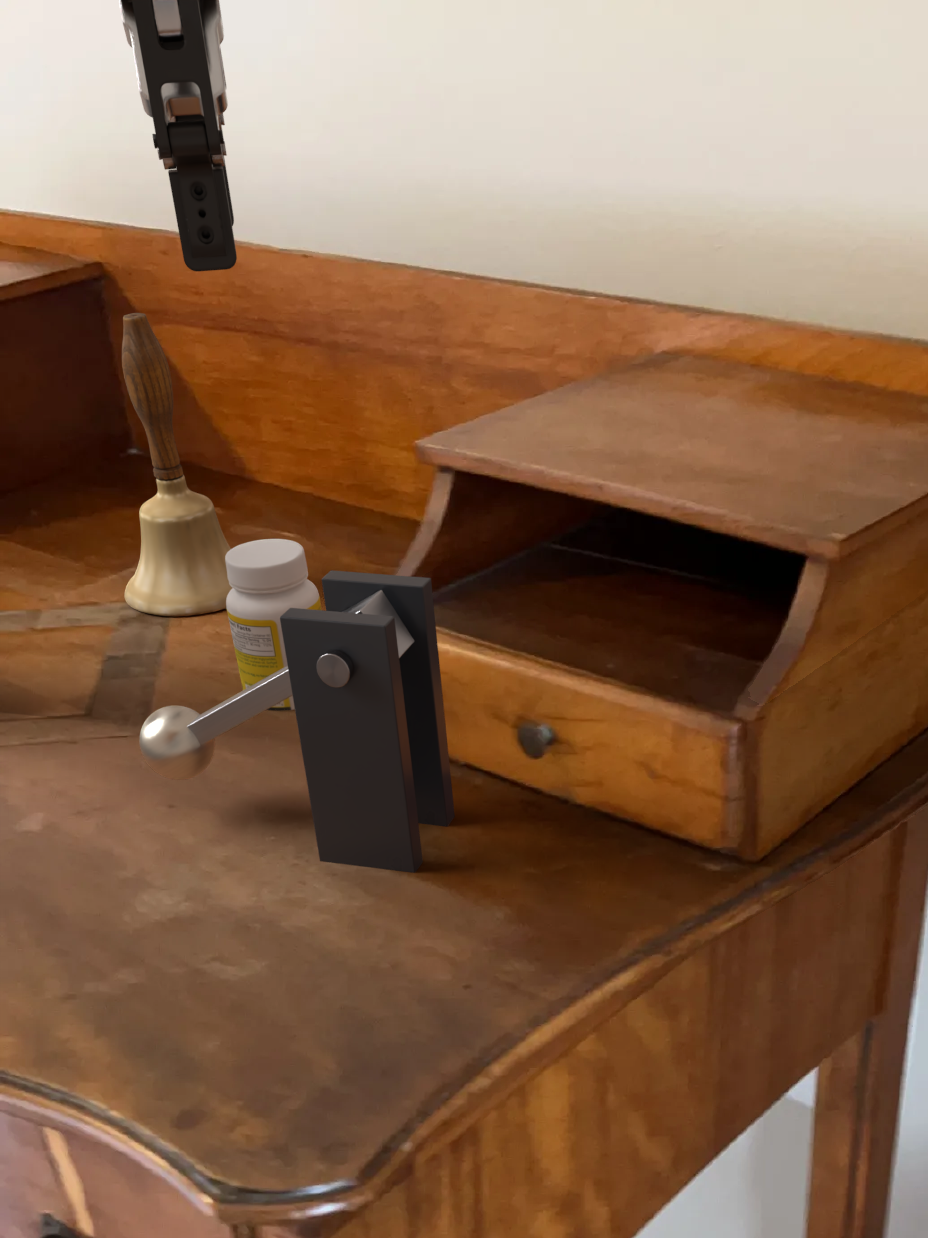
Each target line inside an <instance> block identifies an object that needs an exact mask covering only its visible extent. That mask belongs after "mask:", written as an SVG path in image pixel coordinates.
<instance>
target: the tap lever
mask: <svg viewBox="0 0 928 1238" xmlns="http://www.w3.org/2000/svg"><path fill="white" fill-rule="evenodd" d="M343 612H347V613H359V614H371V615H383V616H393V617H394V619H395V627H396V636H397V644H398V653H399V658H400V657H401V656H402V655H403V654H404V653H405V652H406V650H407V649H408V648H409V647H410V646H411V645H412V644H413V643H414V639H413V638H412V636H411V634H410V633H409V631H408V630H407V628H406V627H405V625H404V624H403V622H402V621H401V619H400V617H399V616H398V614H397V613H396V611H395V610H394V608H393V607H392V605H391V604H390V602H389V600H388V599H387V597H386V596H385V594H384V593H383V591H382V590H380V591H378V592H376V593H374V594H373V595H371V596H369V597H367V598H366V599H364V600H362V601H360V602H359V603H357V604H355V605H353V606H352V607H350V608H348V609H346V610H345V611H343ZM291 696H293V695H292V689H291V683H290V677H289V671H288V666H286V667H284V668H282V669H280V670H279V671H277V672H275V673H273V674H271V675H270V676H268V677H266V678H264V679H263V680H261V681H259V682H257V683H255V684H254V685H252V686H250V687H248V688H247V689H245V690H243V689H242V690H241V691H240V692H238V693H236V694H234V695H232V696H231V697H229V698H227V699H225V700H224V701H222V702H220V703H218V704H217V705H214V706H213V707H211V708H209V709H206V711H204V712H202V713H199V712H197V711H196V710H194V709H193V708H190V707H188V706H184V705H175V704H174V705H166V706H163V707H161V708H158V709H156V710H155V711H153V712H152V713H151V714H150V715H149V716H148V717H146V719H145V721H144V722H143V724H142V726H141V729H140V732H139V749H140V750H139V751H140V752H141V756H142V757H143V760H144V761H145V763H146V764H147V765H148V766H149V768H150V769H151V770H153V771H154V772H155V773H156V774H157V775H160V776H161V777H164V778H166V779H170V780H175V781H183V780H189V779H192V778H195V777H197V776H198V775H200V774H202V773H203V772H204V771H205V770H206V769H207V768H208V767H209V765H210V763H211V762H212V759H213V758H214V755H215V750H216V743H215V742H216V740H215V739H216V738H218V737H220V736H222V735H223V734H225V733H227V732H228V731H231V730H232V729H235V728H236V727H238V726H239V725H241V724H243V723H245V722H247V721H250V719H252V718H254V717H256V716H258V715H260V714H262V713H263V712H265V711H268V710H267V709H269V708H271V707H273V706H274V705H276V704H278V703H280V702H282V701H284V700H285V699H287V698H289V697H291Z"/></svg>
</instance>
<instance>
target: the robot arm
mask: <svg viewBox="0 0 928 1238" xmlns="http://www.w3.org/2000/svg"><path fill="white" fill-rule="evenodd" d="M118 3H119V10H120V17H121V22H122V26H123V29H124V33H125V38H126V41H127V44H128V45H129V47H130V48H131V49H132V54H133V60H134V66H135V73H136V81H137V86H138V87H137V88H138V91H139V96H140V100H141V104H142V108H143V111H144V112H145V114H146V115H147V116H149V118H152V122H153V128H154V133H152V142H153V146H154V149H155V150H157V156H158V160H159V161H162V164H163V169H164V170H165V171H166V170H168V171H167V174H168V179H169V185H170V191H171V195H172V201H173V207H174V212H175V213H174V214H175V218H176V219H175V220H176V223H177V229H178V230H177V231H178V235H179V240H180V241H179V242H180V246H181V252H182V257H183V262H184V264H185V266H186V267H187V268H188V269H189V270H190V271H192V272H210V271H211V272H212V271H223V270H230V269H232V268H233V267H234V266H235V265H236V264H237V259H238V257H237V249H236V241H235V237H234V236H235V235H234V230H233V229H234V228H233V226H234V223H235V217H234V216H235V215H234V209H233V203H232V198H231V191H230V185H229V179H228V172H227V171H228V170H227V166H226V160H225V157H227V156H228V154H227V147H226V142H225V139H224V131H223V126H225V125H226V123H225V117H224V113H225V112H226V110H227V109H228V107H229V102H228V96H227V82H226V74H225V68H224V61H223V55H222V49H221V48H222V47H221V44H222V43H223V41H224V37H225V33H224V32H225V31H224V24H223V18H222V12H221V11H222V10H221V5H220V3H221V2H220V0H118Z"/></svg>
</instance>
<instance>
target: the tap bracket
mask: <svg viewBox="0 0 928 1238" xmlns="http://www.w3.org/2000/svg"><path fill="white" fill-rule="evenodd" d="M321 585H322V593H323V599H324V606H325V610H323V609H321V610H311V609H299V608H289V609H288V610H287V611H286V612H285V613H284V614H283V615H282V616H280V622H281V629H282V635H283V641H284V647H285V653H286V659H287V665H288V671H289V677H290V683H291V689H292V695H293V701H294V707H295V709H294V712H295V718H296V725H297V730H298V736H299V737H298V738H299V743H300V750H301V755H302V761H303V767H304V773H305V779H306V785H307V790H308V799H309V803H310V810H311V815H312V822H313V827H314V833H315V840H316V847H317V851H318V857H319V861H320V862H324V863H331V864H339V865H340V864H341V865H346V866H347V865H348V866H355V867H363V868H364V867H365V868H373V869H381V870H387V871H388V870H389V871H396V872H405V873H412V874H415V873H417V871H418V870H419V868H420V867H421V866H422V864H423V863H424V859H423V850H422V842H421V841H422V840H421V834H420V826H419V825H429V826H436V827H446V828H447V827H449V825H450V824H451V822H453V820H454V818H455V817H456V816H455V806H454V795H453V787H452V785H453V784H452V775H451V765H450V756H449V755H450V754H449V746H448V736H447V726H446V725H447V724H446V715H445V705H444V695H443V686H442V676H441V667H440V666H441V665H440V654H439V646H438V645H439V644H438V636H437V626H436V614H435V605H434V595H433V586H432V578H431V577H422V576H409V575H397V574H382V573H370V572H357V571H346V570H345V571H343V570H330V571H328V573H326V574H325V575H324V576H323V577H322V578H321ZM380 590H382V591H383V593H384V594H385V596H386V597H387V599H388V600H389V602H390V604H391V605H392V607H393V608H394V610H395V611H396V613H397V614H398V616H399V617H400V619H401V621H402V622H403V624H404V625H405V627H406V628H407V630H408V631H409V633H410V634H411V636H412V638H413V639H414V643H413V644H412V645H411V646H410V647H409V648H408V649H407V650H406V652H405V653H404V654H403V655H402V656H401V657H400V658H399V653H398V644H397V636H396V627H395V619H394V617H393V616H383V615H371V614H359V613H347V612H343V611H345V610H346V609H348V608H350V607H352V606H353V605H355V604H357V603H359V602H360V601H362V600H364V599H366V598H367V597H369V596H371V595H373V594H374V593H376V592H378V591H380Z"/></svg>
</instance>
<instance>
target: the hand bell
mask: <svg viewBox="0 0 928 1238" xmlns="http://www.w3.org/2000/svg"><path fill="white" fill-rule="evenodd" d="M122 323H123V325H122V326H123V332H122V342H121V367H122V372H123V378H124V382H125V386H126V390H127V393H128V395H129V398H130V399H129V400H130V401H131V403H132V406H133V408H134V410H135V413H136V414H137V417H138V418H139V421H140V422H141V423H142V426H143V429H144V431H145V434H146V437H147V443H148V447H149V453H150V459H151V464H152V466H153V468H152V472H153V476H154V477H155V478H156V479H155V482H156V487H157V492H156V494H155V495H153V496H152V497H151V498H149V499H148V500H146V501H144V502H143V503H142V505H141V506H140V508H139V513H138V517H139V524H140V525H139V527H140V555H139V561H138V564H137V567H136V570H135V573H134V574H133V576H132V577H131V578H130V579H129V580H128V582H127V585H126V586H125V590H124V594H123V596H124V597H123V598H124V600H125V603H126V604H127V605H128V606H129V607H131V608H132V609H134V610H136V611H137V612H140V613H145V614H149V615H154V616H162V617H190V616H198V615H204V614H209V613H215V612H219V611H222V610H227V608H226V598H227V595H228V593H229V592H230V590H231V589H232V587H231V586H230V584H229V580H228V577H227V569H226V562H225V556H226V554H227V552H228V551H229V550H231V549H232V548H231V546H230V544H229V543H228V540H227V539H226V537H225V534H224V533H223V529H222V527H221V524H220V522H219V519H218V516H217V512H216V509H215V506H214V503H213V501H212V500H211V498H209V497H208V496H206V495H204V494H202V493H197V492H195V491H192V490H191V489H190V488H189V487H188V485H187V481H186V477H185V475H184V471H183V466H182V465H181V459H180V456H179V455H180V454H179V451H178V447H177V444H176V439H175V435H174V425H173V416H174V391H173V390H174V389H173V381H172V376H171V375H172V374H171V371H170V366H169V363H168V359H167V357H166V354H165V352H164V350H163V348H162V346H161V343H160V342H159V339H158V338H157V336H156V334H155V333H154V331H153V329H152V327H151V324H150V322H149V320H148V317H147V314H146V313H142V312H132V313H128V314H125V315H123V317H122Z"/></svg>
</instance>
